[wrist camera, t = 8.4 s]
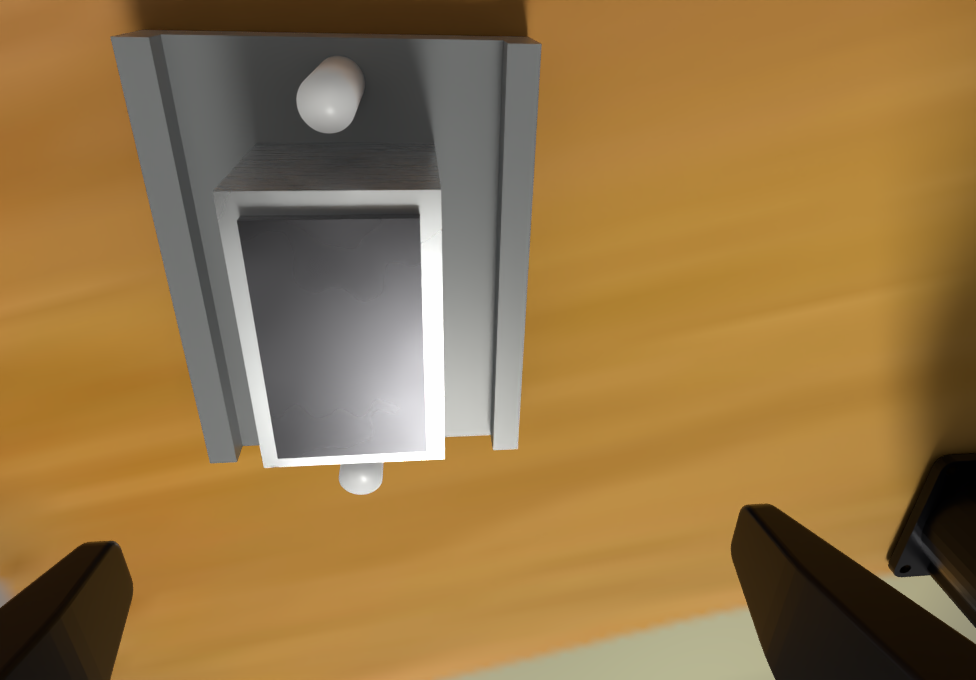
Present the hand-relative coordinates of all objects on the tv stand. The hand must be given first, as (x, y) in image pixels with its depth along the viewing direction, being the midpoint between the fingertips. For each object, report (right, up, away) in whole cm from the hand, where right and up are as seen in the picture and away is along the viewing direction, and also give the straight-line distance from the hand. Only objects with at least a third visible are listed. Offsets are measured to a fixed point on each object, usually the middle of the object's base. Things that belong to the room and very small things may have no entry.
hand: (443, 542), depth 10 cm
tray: (-3, +6, +10) cm, 12 cm away
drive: (-3, +5, +9) cm, 11 cm away
